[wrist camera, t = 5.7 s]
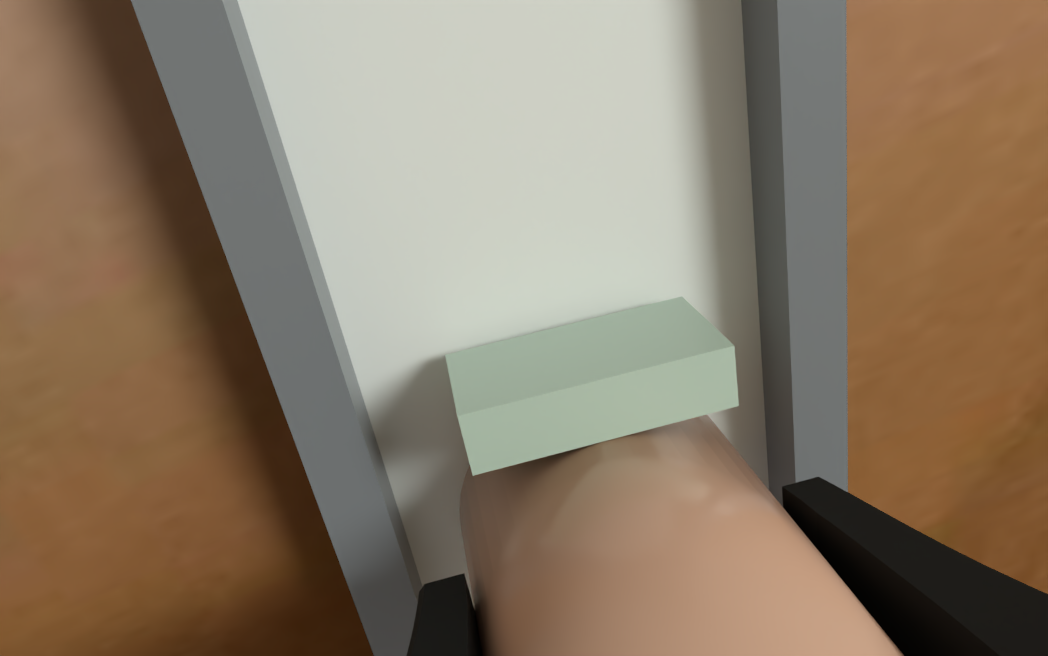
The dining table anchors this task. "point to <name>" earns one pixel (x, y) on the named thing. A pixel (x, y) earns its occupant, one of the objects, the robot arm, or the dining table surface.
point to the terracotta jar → (651, 557)
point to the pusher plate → (589, 383)
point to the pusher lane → (511, 222)
